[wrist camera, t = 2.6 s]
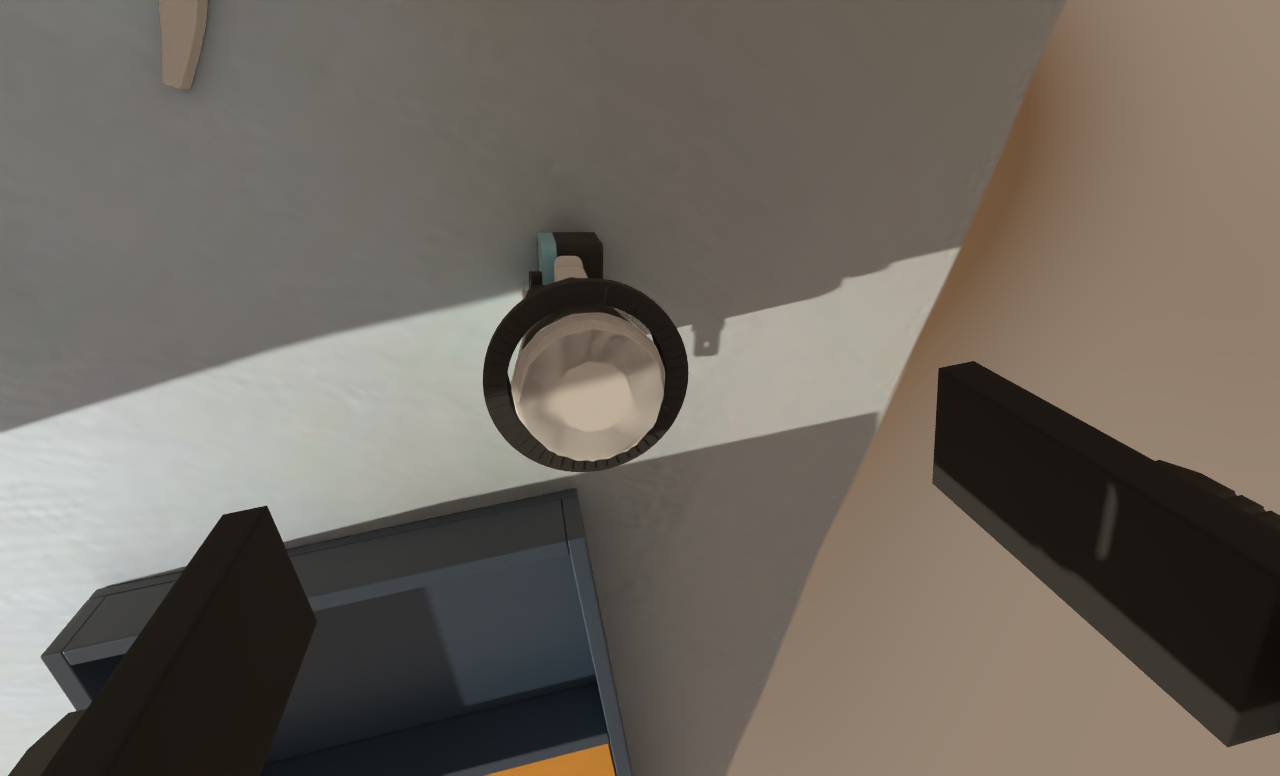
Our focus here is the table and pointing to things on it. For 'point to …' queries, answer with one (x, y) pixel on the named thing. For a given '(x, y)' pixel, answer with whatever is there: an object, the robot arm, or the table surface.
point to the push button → (583, 364)
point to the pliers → (181, 39)
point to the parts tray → (422, 650)
